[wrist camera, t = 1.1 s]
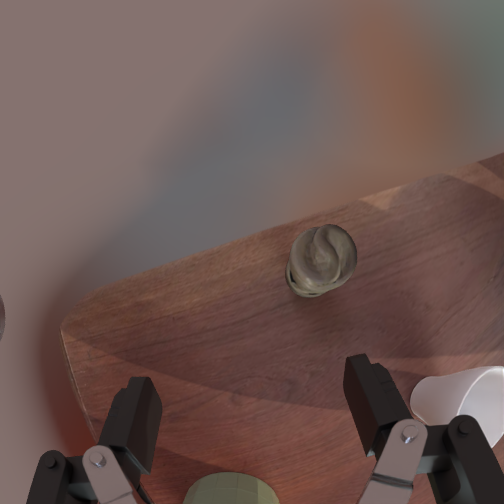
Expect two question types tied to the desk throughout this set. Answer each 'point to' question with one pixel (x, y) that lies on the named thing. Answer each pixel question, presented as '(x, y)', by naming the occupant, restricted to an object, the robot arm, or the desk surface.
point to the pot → (230, 490)
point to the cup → (463, 399)
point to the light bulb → (320, 260)
